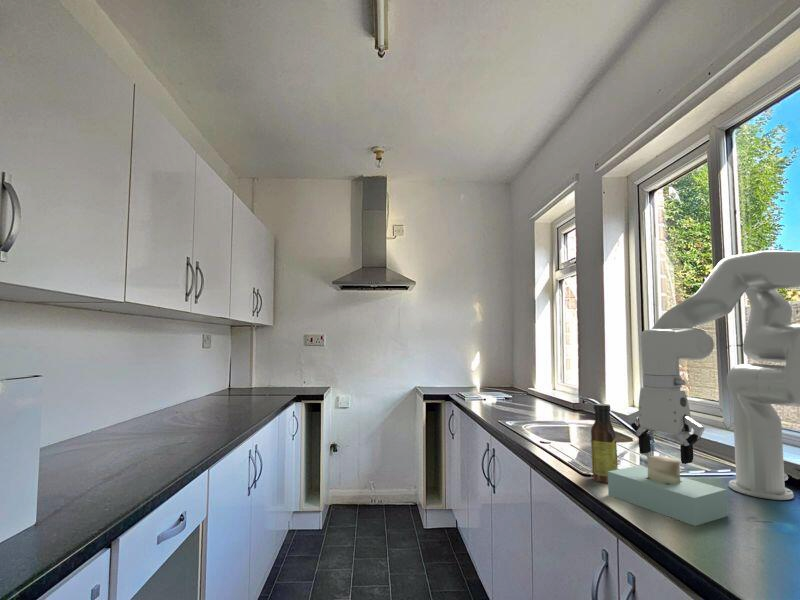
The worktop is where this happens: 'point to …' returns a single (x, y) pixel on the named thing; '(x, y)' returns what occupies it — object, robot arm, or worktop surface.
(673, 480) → the pin
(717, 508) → the block
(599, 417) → the sauce bottle
